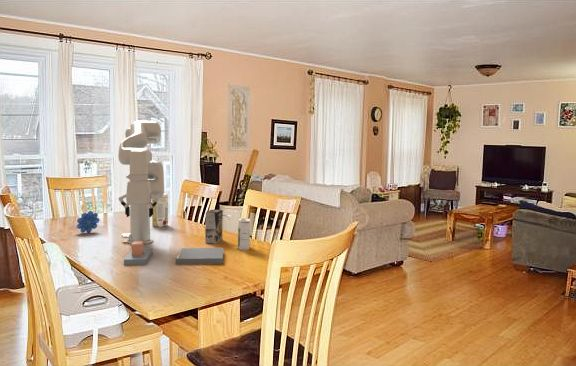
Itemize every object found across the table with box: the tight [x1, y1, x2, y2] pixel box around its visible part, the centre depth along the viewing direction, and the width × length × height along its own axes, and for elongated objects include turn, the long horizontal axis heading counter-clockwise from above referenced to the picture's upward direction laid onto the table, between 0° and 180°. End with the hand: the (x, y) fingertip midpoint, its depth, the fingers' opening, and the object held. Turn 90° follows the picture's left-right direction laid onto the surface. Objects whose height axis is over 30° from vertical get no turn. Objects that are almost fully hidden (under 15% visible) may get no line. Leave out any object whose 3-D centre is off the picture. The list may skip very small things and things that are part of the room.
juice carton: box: [151, 193, 169, 228], centre depth 275 cm, size 8×9×19 cm
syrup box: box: [237, 217, 251, 251], centre depth 227 cm, size 6×6×14 cm
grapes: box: [76, 210, 100, 233], centre depth 254 cm, size 12×7×12 cm, turn 121°
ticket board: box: [174, 247, 224, 265], centre depth 208 cm, size 20×18×3 cm
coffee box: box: [204, 209, 224, 244], centre depth 240 cm, size 9×6×16 cm
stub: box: [123, 241, 154, 266], centre depth 204 cm, size 9×18×7 cm, turn 7°
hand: (139, 216), depth 205 cm, fingers open, 9 cm apart
